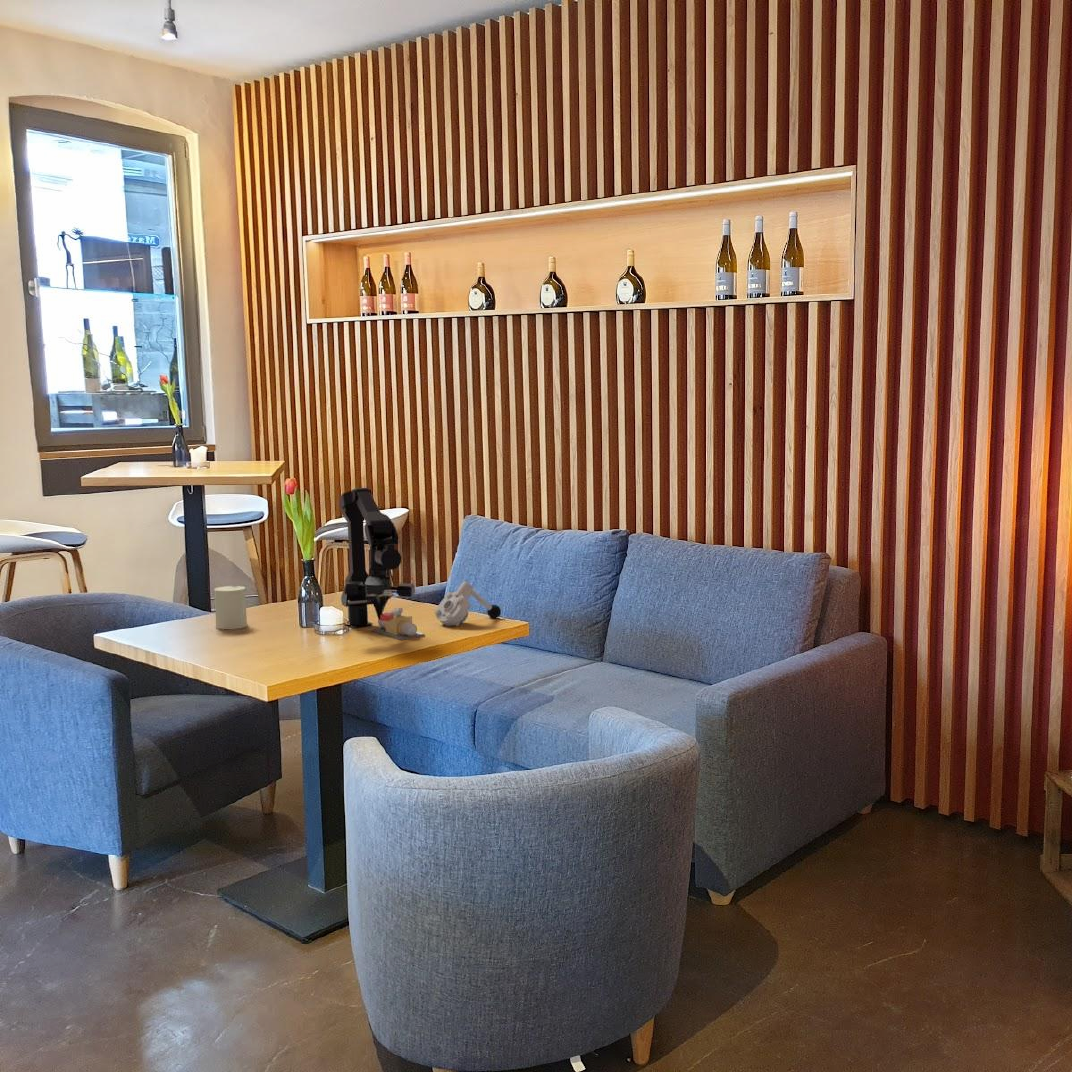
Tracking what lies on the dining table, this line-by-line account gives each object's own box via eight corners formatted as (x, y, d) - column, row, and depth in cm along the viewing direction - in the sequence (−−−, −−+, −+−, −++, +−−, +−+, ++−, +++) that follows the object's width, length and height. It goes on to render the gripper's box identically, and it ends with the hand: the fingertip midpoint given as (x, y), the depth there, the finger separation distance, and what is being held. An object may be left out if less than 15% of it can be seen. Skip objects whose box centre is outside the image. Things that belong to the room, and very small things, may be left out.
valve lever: (396, 612, 324) (395, 606, 324) (404, 612, 323) (403, 607, 323) (380, 621, 311) (380, 615, 311) (388, 621, 311) (388, 615, 311)
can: (252, 623, 340) (250, 584, 339) (239, 630, 331) (237, 589, 330) (224, 623, 342) (222, 583, 340) (210, 629, 333) (208, 589, 331)
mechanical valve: (428, 614, 336) (456, 574, 340) (465, 645, 347) (492, 606, 350) (447, 622, 328) (475, 581, 332) (484, 654, 339) (511, 613, 342)
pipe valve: (370, 630, 328) (370, 610, 327) (394, 626, 333) (394, 606, 332) (400, 640, 315) (399, 619, 314) (424, 636, 320) (424, 615, 319)
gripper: (339, 567, 304) (339, 624, 306) (407, 570, 303) (407, 627, 305) (349, 561, 315) (349, 615, 317) (415, 563, 314) (414, 618, 316)
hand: (379, 619), depth 314 cm, fingers closed
